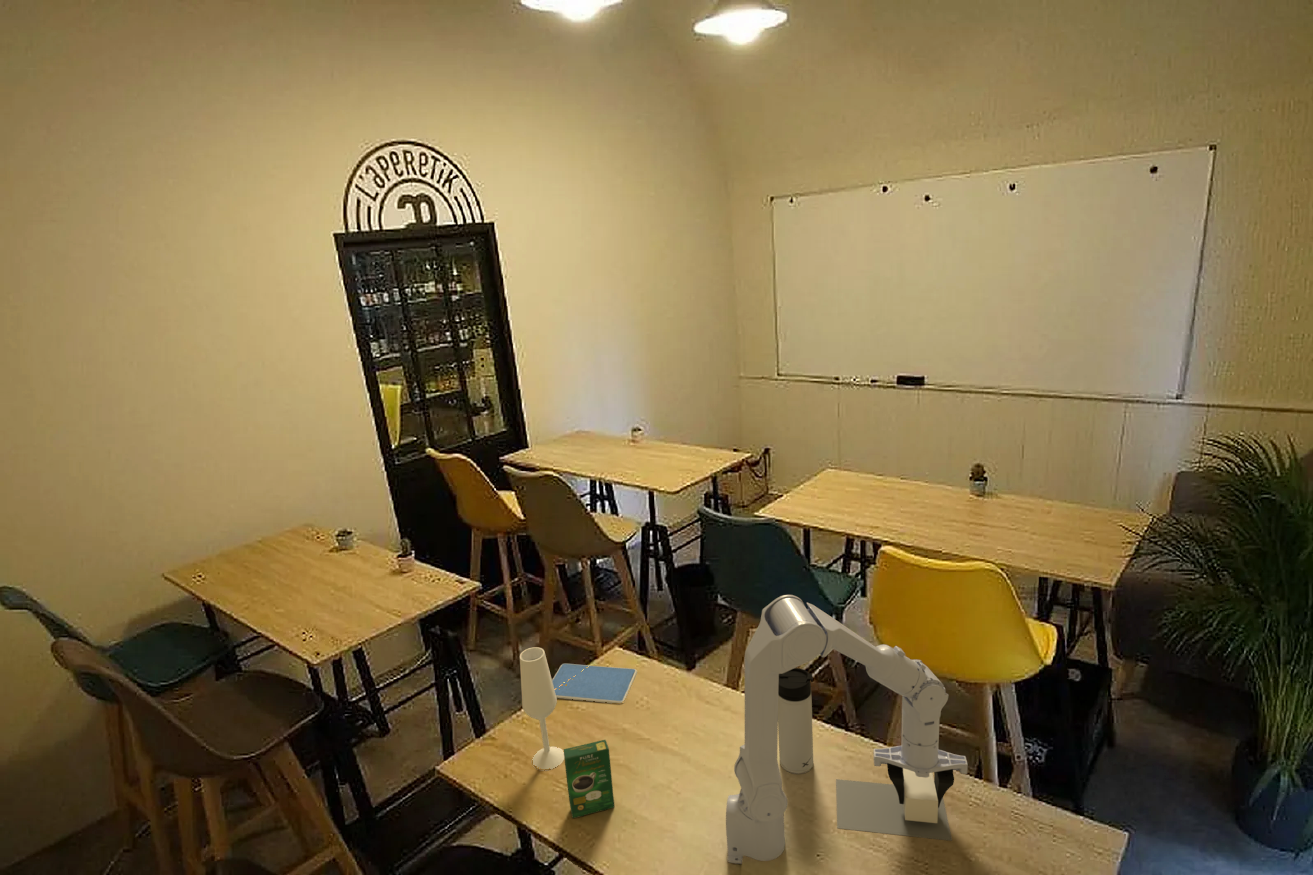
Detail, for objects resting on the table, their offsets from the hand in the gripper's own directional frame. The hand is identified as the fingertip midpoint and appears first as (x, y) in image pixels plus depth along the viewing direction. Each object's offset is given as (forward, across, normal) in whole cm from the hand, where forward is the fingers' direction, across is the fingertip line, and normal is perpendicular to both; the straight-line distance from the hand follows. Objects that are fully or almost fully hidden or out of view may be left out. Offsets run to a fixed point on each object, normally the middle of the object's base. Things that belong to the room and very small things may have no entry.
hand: (918, 801), depth 118 cm
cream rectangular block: (+1, 0, 0) cm, 1 cm away
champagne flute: (+3, -70, +5) cm, 70 cm away
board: (+3, -4, 0) cm, 5 cm away
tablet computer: (+4, -68, +29) cm, 74 cm away
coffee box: (+3, -56, -6) cm, 57 cm away
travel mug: (+3, -20, +9) cm, 23 cm away
